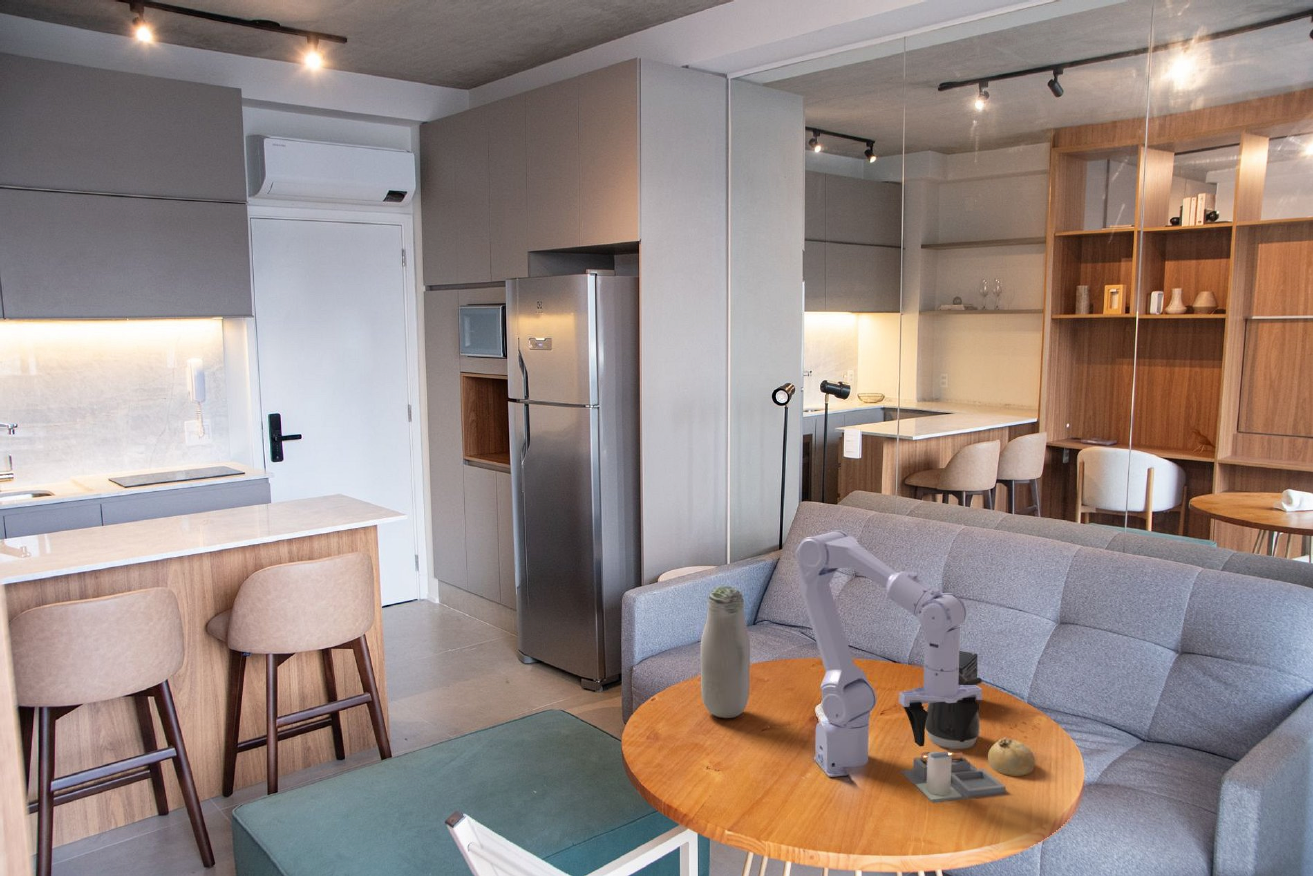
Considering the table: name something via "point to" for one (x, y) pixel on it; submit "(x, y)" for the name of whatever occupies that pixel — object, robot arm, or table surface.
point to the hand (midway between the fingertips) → (939, 742)
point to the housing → (957, 781)
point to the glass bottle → (725, 654)
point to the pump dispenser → (950, 722)
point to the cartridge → (939, 773)
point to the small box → (968, 664)
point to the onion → (1011, 758)
